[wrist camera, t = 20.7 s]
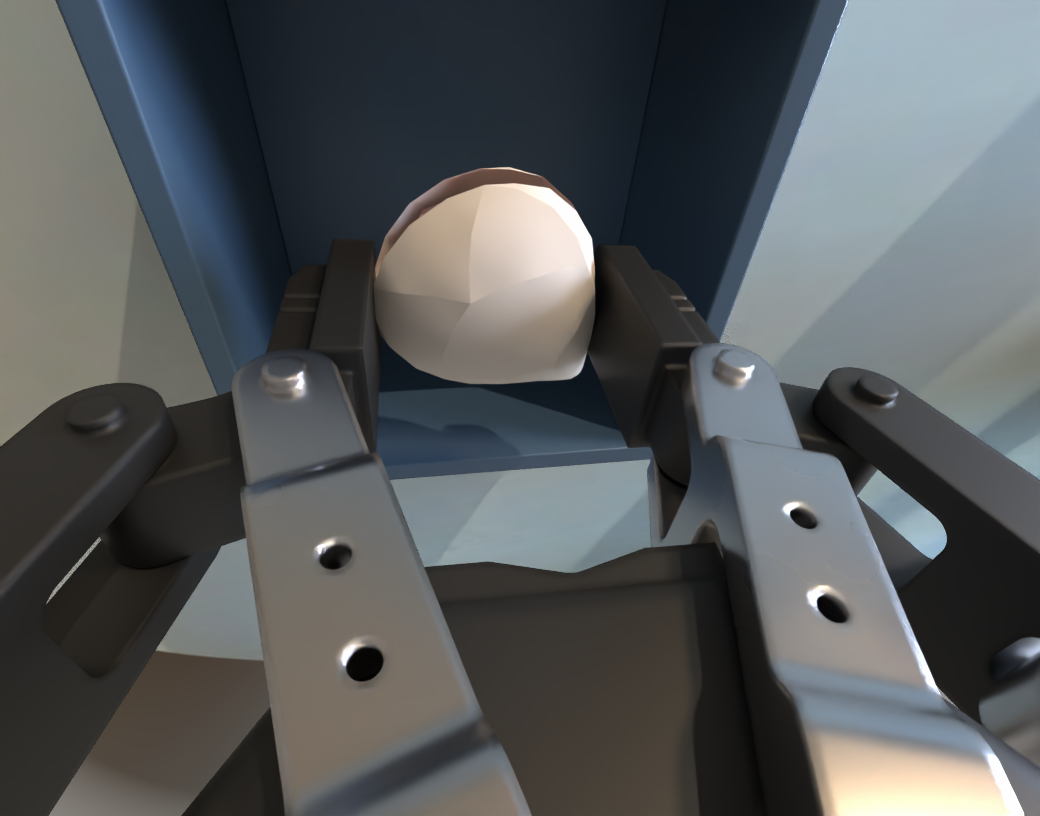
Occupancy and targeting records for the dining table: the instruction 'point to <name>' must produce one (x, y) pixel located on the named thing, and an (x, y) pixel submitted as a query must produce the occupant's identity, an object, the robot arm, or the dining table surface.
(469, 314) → the cream rounded dome
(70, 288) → the dining table surface
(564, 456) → the blue open box
